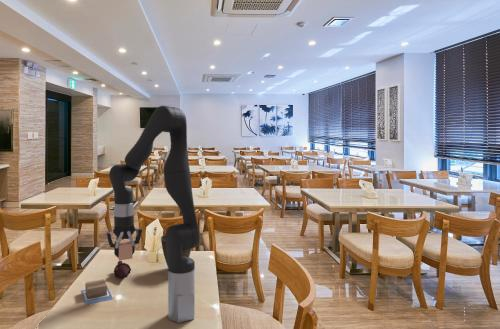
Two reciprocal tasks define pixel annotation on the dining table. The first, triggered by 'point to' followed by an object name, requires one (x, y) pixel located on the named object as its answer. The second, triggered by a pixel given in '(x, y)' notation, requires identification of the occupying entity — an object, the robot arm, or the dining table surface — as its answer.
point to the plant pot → (163, 240)
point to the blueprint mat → (97, 299)
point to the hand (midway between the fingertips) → (124, 255)
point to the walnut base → (96, 289)
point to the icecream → (122, 270)
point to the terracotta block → (125, 250)
